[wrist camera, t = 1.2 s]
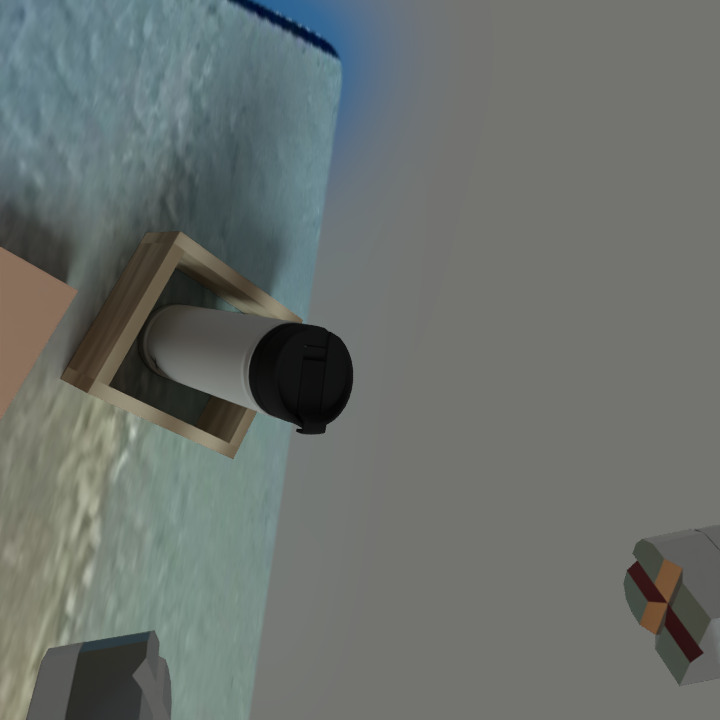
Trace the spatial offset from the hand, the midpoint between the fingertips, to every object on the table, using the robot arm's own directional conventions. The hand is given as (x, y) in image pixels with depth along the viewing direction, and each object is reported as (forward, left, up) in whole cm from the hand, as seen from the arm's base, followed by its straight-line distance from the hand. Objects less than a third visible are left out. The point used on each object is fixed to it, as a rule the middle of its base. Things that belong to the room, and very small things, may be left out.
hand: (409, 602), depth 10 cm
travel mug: (+14, +7, -41) cm, 44 cm away
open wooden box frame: (+14, +7, -41) cm, 44 cm away
